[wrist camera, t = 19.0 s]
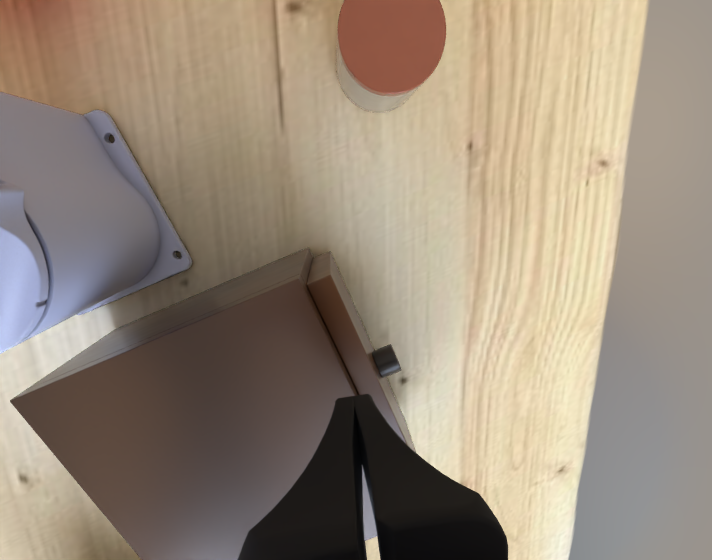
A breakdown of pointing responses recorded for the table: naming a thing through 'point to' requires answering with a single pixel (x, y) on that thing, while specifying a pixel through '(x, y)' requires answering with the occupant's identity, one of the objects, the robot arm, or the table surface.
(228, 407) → the cabinet
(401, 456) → the robot arm
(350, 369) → the drawer
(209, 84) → the table surface
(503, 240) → the table surface
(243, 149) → the table surface
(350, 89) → the pot
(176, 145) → the table surface
